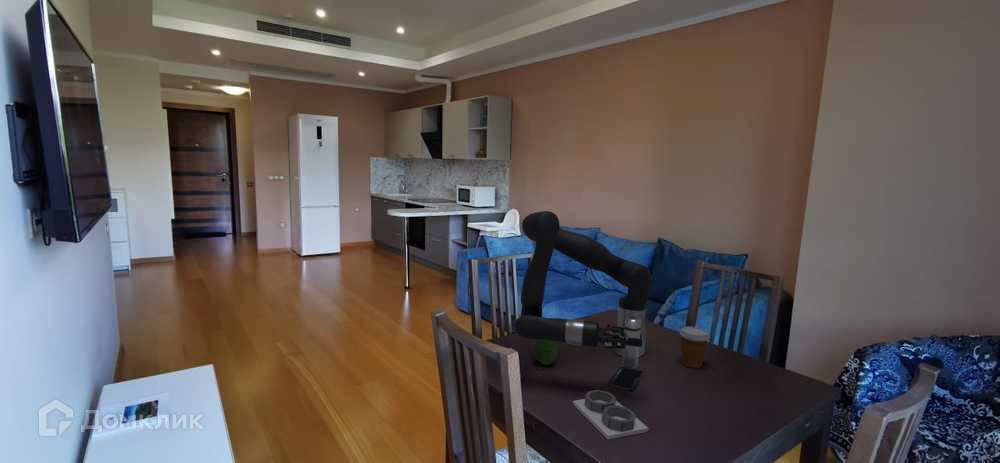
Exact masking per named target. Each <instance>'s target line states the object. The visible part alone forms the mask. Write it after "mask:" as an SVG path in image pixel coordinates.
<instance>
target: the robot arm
mask: <svg viewBox="0 0 1000 463" xmlns="http://www.w3.org/2000/svg"><path fill="white" fill-rule="evenodd" d="M560 225H561V223H560V220H559V217H558V215H557V214H556V213H554V212H553V211H549V210H545V211H537V212H536V211H535V212H533V213H530V214H528V215H526V216H525V217H524V219H523V220H522V223H521V226H522V227H521V229H522V231H523V234H524V235H525V237H527V238H528V239H529V240H531V241H532V242H535V248H534V252H533V255H532V259H531V260H530V262H529V264H528V267H527V269H526V271H525V274H524V276H523V279H522V280H523V281H522V286H521V292H520V293H521V294H520V304H521V311H520V316H519V317H518V318H517V319H516V320H515V323H514V330H515V332H516V334H517V335H518V336H519V337H521V338H523V339H526V340H537V339H539V340H551V341H555V342H558V343H564V344H565V343H566V344H570V345H573V346H580V347H590V348H597V347H598V345H599V343H600V344H604V346H603V348H605V349H615V353H616V354H617V355H619V356H621V357H623V349H625V347H627V346H636V347H639V357H638V358H640V357H642V356H644V355H645V349H646V348H645V347H646V337H647V336H646V335H647V329H646V328H645V320H646V319H645V316H646V306H647V303H648V301H649V298H650V291H651V290H650V289H651V283H652V282H651V281H652V274H651V270H650V268H649V267H648V266H646V265H645V264H641V263H638V262H634V261H632V260H628V259H624V258H622V257H619V256H618V255H616V254H613V253H612V251H610V249H608V247H606V246H605V245H604V244H603V243H601V242H599V241H597V240H596V239H593V238H592V237H589V236H587V235H584V234H583V233H582V234H581V233H578V232H574V231H569V230H566V229H563V228H561V227H560ZM554 250H555V251H557V252H558V253H561V254H562V255H564V256H565V257H568V258H570V259H572V260H573V261H575V262H577V263H579V264H580V265H583V266H585V267H587V268H589V269H591V270H594V271H597V272H600V273H603V274H606V275H607V276H609V277H610V278H611V279H613V280H614V281H616V282H618V283H619V284H620V285H621V286H624V287H626V288H627V294H626V295H624V296H621V297H620V298H619V299H618V309H617V310H618V312H617V325H614V324H613V325H612V324H606V327H600V322H599V321H595V320H587V319H586V320H585V319H576V318H574V319H572V318H571V319H569V318H559V317H552V318H551V317H543V302H544V298H545V297H544V296H545V289H546V282H547V276H548V273H549V272H548V271H549V268H550V265H551V264H550V263H551V261H552V256H553V253H554ZM629 316H632V317H638V318H640V319H641V330H640V339H638V338H630V337H629V339H628V337H624V331H625V318H626V317H629Z"/></svg>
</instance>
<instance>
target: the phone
mask: <svg viewBox="0 0 1000 463" xmlns="http://www.w3.org/2000/svg"><path fill="white" fill-rule="evenodd" d="M644 374H645V373H644V370H643V371H642V370H640V369H636V368H627V367H625V366H620V367H619V368H618V369H617V371H616V372H615V374H614V375H613V376H612V378H611V379H610V380H609V381H608V387H611V388H615V389H619V390H623V391H626V392H630V393H633V392H635V390H636V389H637V387H638V385H639V384H640V382H641V380H642V378H643V376H644Z"/></svg>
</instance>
